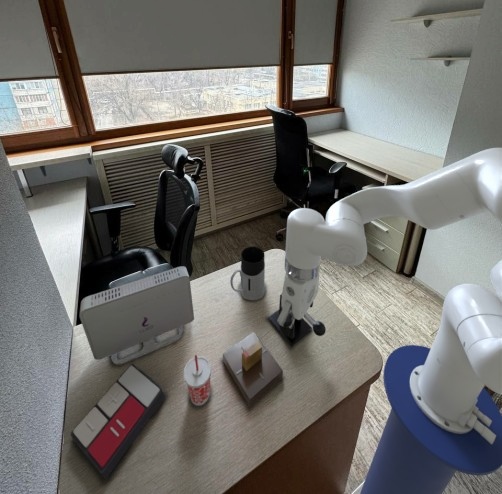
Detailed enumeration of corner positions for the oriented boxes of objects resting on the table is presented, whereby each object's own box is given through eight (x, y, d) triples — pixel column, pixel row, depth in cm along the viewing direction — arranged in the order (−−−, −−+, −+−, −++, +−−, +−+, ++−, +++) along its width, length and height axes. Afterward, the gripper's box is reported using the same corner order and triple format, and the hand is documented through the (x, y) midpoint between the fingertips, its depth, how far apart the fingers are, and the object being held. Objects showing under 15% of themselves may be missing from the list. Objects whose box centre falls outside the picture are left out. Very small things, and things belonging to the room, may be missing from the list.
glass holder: (270, 288, 91) (272, 253, 85) (242, 317, 81) (241, 280, 76) (251, 274, 97) (251, 241, 91) (222, 300, 87) (220, 265, 81)
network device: (96, 375, 67) (76, 320, 59) (98, 343, 74) (80, 290, 66) (196, 331, 77) (191, 280, 69) (189, 307, 84) (183, 258, 77)
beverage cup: (182, 406, 61) (176, 368, 56) (192, 376, 67) (187, 339, 61) (208, 412, 60) (204, 374, 55) (216, 381, 66) (213, 344, 60)
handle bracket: (311, 330, 78) (315, 301, 73) (291, 347, 73) (294, 317, 69) (287, 305, 85) (289, 277, 81) (268, 319, 81) (269, 290, 76)
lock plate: (282, 377, 67) (283, 369, 65) (249, 407, 61) (249, 399, 60) (253, 338, 76) (253, 330, 74) (222, 361, 70) (222, 353, 69)
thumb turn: (257, 352, 69) (257, 340, 67) (261, 358, 68) (262, 346, 66) (241, 365, 66) (241, 352, 65) (245, 371, 65) (245, 359, 63)
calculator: (68, 432, 54) (131, 360, 66) (74, 441, 56) (134, 370, 68) (100, 472, 49) (162, 387, 61) (106, 481, 51) (165, 397, 63)
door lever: (327, 334, 68) (329, 325, 67) (319, 341, 67) (320, 333, 65) (291, 298, 78) (292, 290, 77) (283, 304, 76) (284, 295, 75)
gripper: (298, 300, 49) (293, 359, 56) (334, 248, 62) (326, 301, 69) (265, 280, 54) (263, 337, 60) (304, 235, 66) (300, 286, 73)
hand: (297, 318), depth 64 cm, fingers open, 9 cm apart
